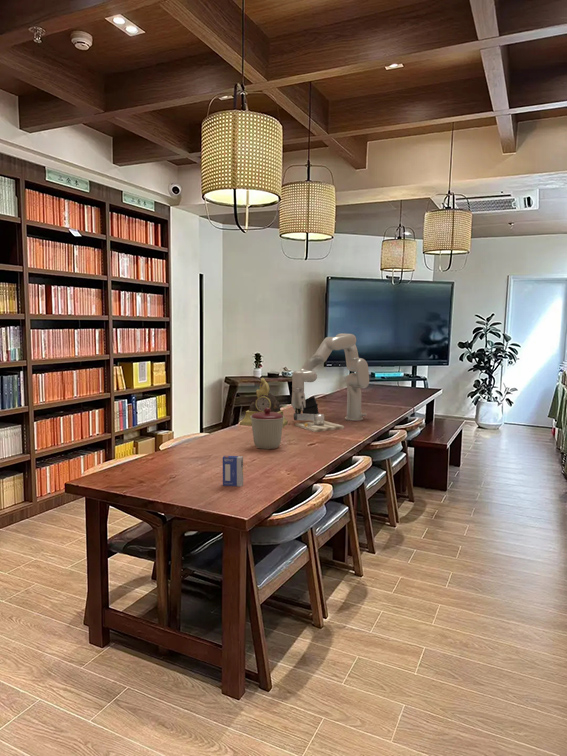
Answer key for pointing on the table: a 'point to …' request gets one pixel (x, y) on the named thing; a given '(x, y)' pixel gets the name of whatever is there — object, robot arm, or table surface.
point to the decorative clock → (263, 404)
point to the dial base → (319, 426)
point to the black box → (310, 406)
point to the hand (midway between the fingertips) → (297, 418)
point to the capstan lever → (310, 418)
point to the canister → (267, 429)
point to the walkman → (233, 471)
